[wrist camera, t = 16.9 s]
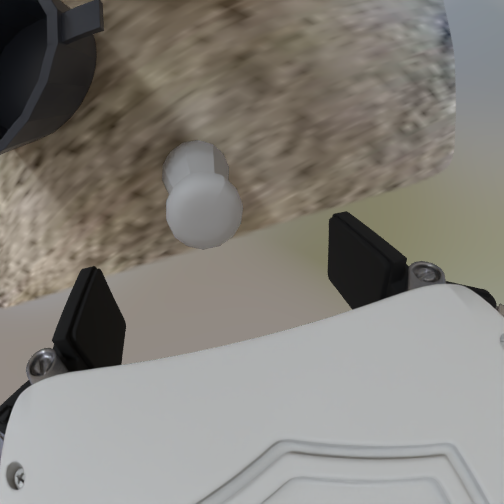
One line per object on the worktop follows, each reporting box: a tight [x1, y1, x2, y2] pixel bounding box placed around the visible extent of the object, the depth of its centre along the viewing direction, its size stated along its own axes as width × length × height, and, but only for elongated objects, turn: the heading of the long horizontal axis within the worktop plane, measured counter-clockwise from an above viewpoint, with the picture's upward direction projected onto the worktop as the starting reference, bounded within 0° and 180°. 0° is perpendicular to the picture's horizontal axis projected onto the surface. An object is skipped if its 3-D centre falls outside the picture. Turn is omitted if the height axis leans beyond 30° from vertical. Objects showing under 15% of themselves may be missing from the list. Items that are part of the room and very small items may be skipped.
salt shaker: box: [162, 140, 243, 250], centre depth 20 cm, size 6×6×13 cm
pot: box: [0, 0, 104, 155], centre depth 12 cm, size 14×19×10 cm
